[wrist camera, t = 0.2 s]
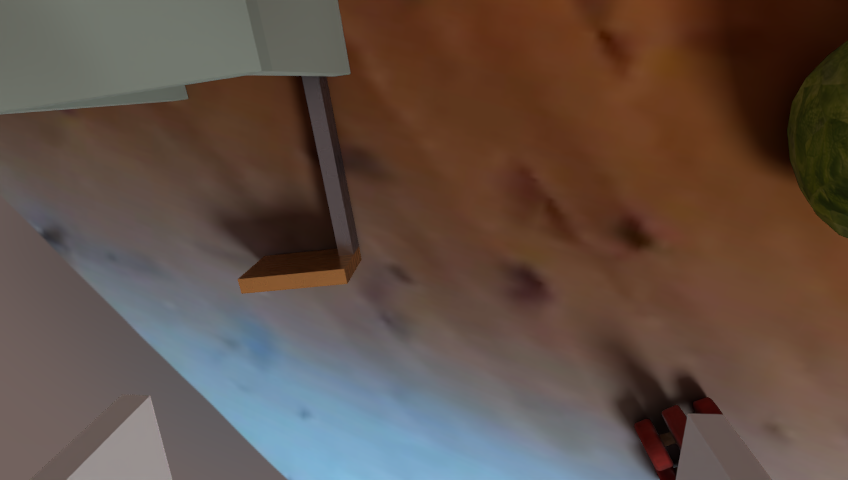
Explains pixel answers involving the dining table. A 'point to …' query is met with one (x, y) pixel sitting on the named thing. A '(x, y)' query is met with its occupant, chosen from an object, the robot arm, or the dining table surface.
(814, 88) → the lettuce
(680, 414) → the toy fire truck
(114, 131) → the dining table surface
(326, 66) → the tunnel
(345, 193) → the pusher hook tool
